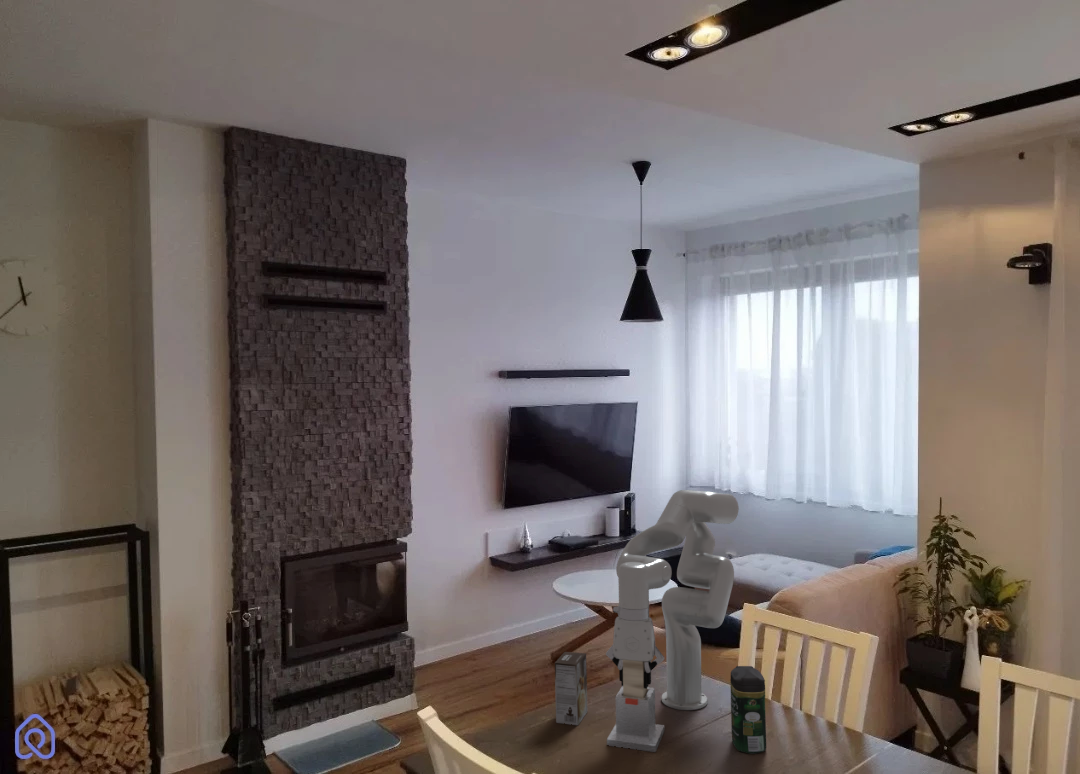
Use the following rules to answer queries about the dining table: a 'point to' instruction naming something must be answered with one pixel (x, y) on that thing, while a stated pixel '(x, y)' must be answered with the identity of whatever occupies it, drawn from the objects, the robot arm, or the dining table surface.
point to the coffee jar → (748, 710)
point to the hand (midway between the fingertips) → (635, 684)
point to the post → (633, 679)
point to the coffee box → (571, 688)
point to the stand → (636, 723)
